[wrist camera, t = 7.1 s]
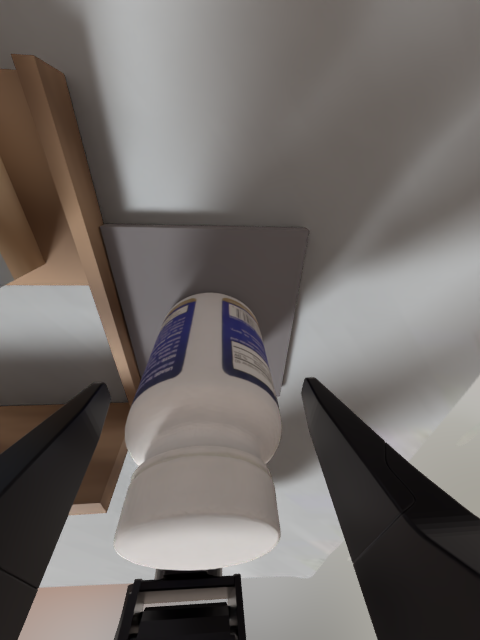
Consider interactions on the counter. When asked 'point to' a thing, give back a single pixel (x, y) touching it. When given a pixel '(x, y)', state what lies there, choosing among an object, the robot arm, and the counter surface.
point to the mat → (207, 277)
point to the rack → (63, 248)
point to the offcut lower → (16, 232)
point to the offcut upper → (4, 273)
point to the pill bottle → (202, 443)
